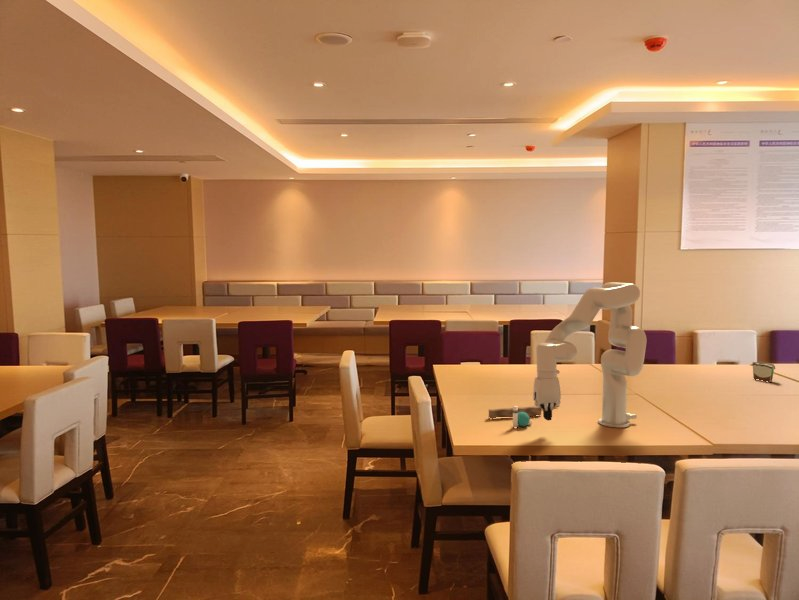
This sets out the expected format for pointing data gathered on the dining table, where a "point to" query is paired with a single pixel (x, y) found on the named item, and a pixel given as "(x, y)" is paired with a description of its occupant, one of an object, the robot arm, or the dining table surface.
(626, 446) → the dining table surface
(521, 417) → the ball
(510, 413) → the back wall
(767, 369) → the food container
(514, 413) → the pin
